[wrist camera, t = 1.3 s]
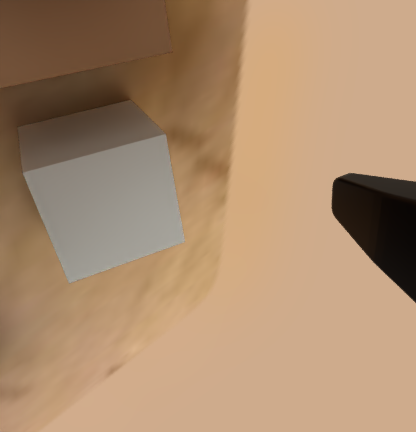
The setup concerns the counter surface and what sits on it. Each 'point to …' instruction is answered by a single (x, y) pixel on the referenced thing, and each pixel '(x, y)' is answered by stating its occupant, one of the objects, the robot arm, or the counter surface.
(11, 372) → the counter surface
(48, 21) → the base block
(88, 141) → the cube
